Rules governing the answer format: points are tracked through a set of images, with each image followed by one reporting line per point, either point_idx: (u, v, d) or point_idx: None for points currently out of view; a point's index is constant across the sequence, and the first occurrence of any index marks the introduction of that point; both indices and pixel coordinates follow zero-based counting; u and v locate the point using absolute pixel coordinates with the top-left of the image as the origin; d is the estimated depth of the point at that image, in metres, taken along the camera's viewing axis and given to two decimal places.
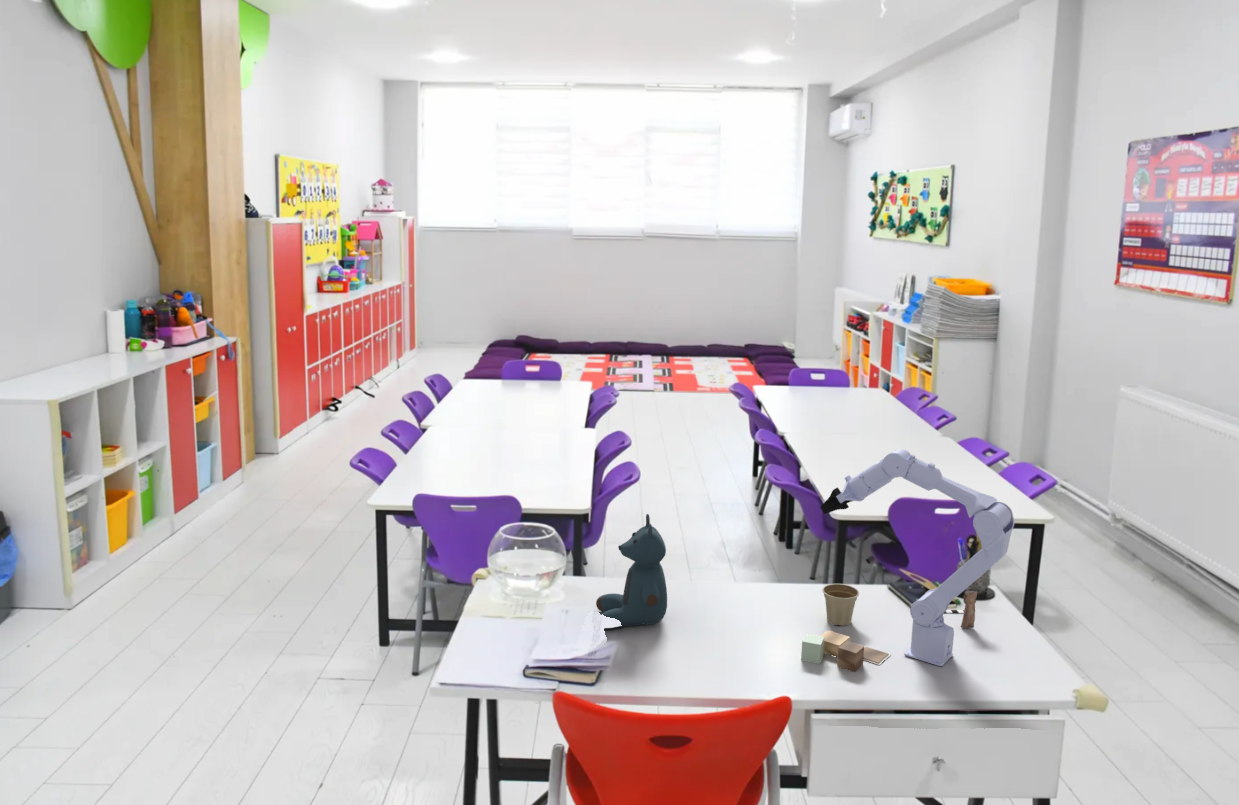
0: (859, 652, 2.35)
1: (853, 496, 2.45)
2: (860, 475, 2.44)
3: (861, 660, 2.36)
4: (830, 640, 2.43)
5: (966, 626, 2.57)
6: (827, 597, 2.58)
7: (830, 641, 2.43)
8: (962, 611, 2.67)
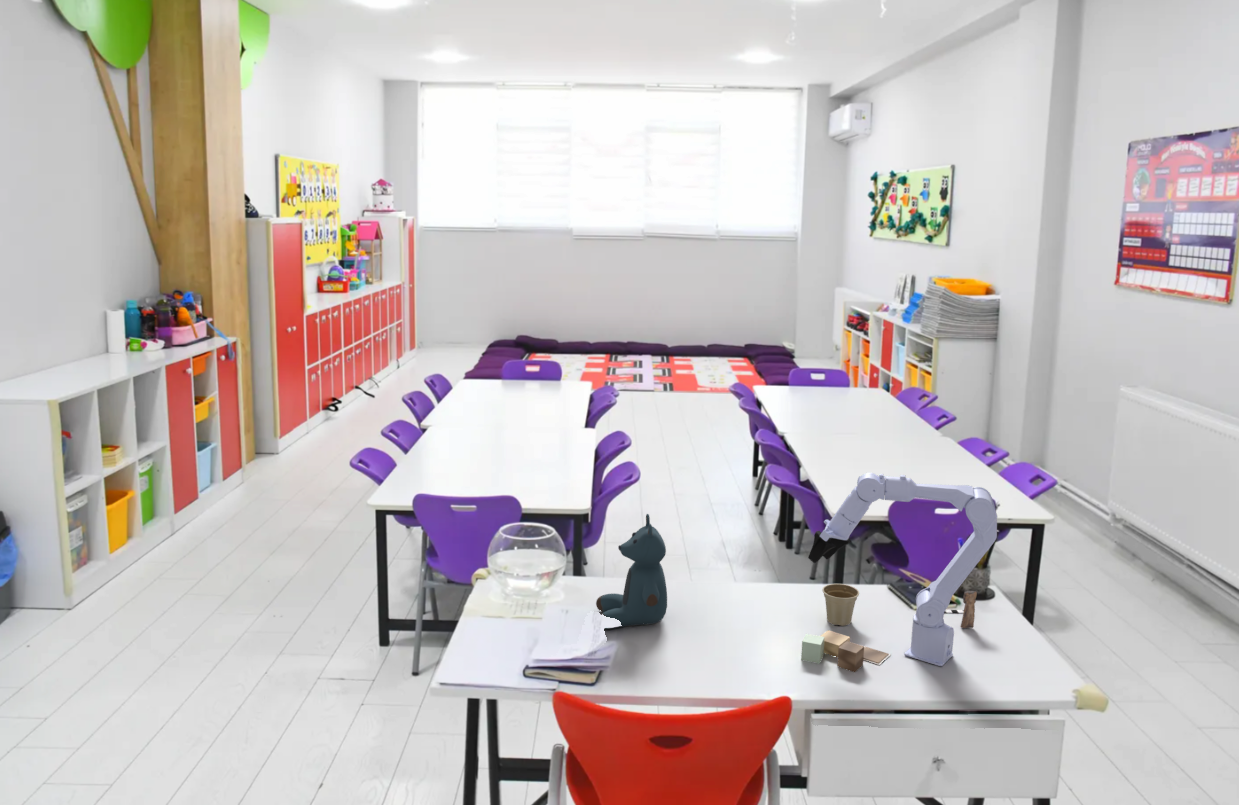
0: (859, 652, 2.35)
1: (836, 534, 2.40)
2: (837, 512, 2.41)
3: (861, 660, 2.36)
4: (830, 639, 2.43)
5: (966, 626, 2.57)
6: (827, 597, 2.58)
7: (830, 641, 2.43)
8: (962, 611, 2.67)
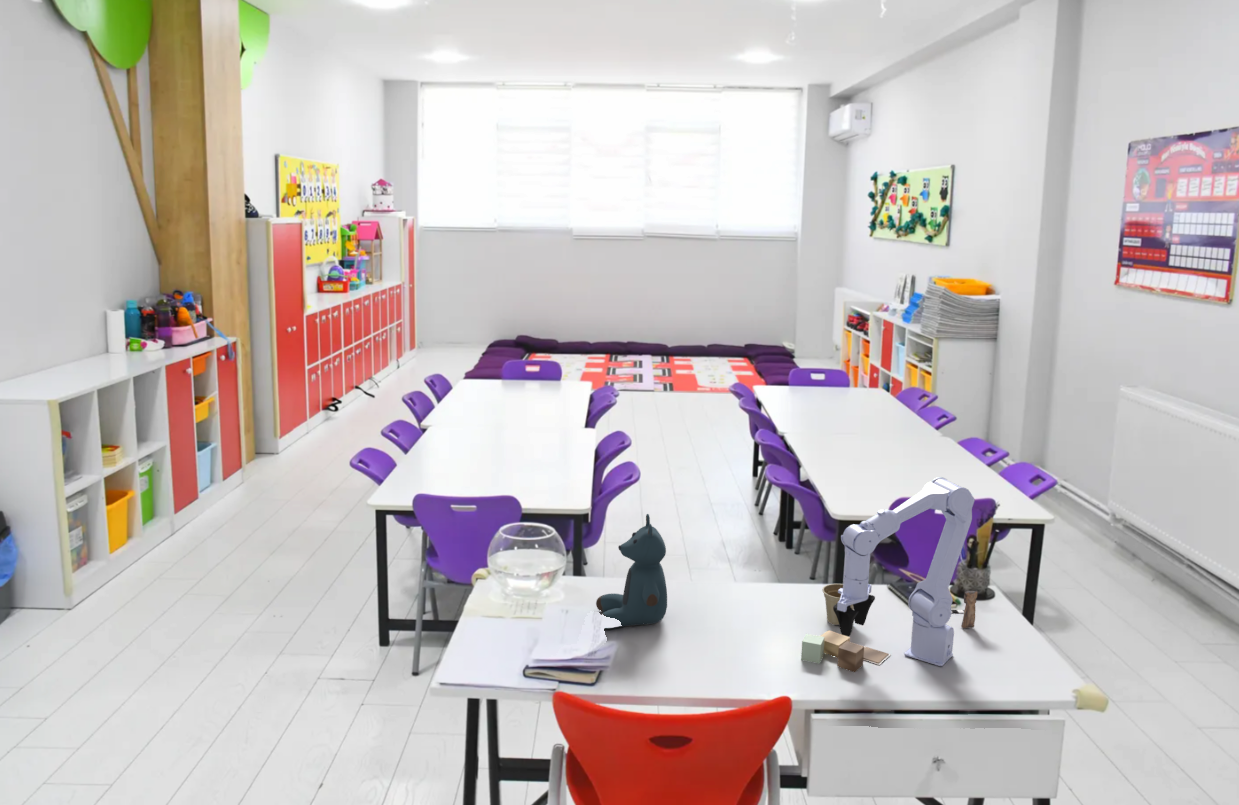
0: (859, 652, 2.35)
1: (854, 599, 2.30)
2: (844, 577, 2.32)
3: (861, 660, 2.36)
4: (830, 639, 2.43)
5: (966, 626, 2.57)
6: (827, 597, 2.58)
7: (830, 641, 2.43)
8: (962, 611, 2.67)
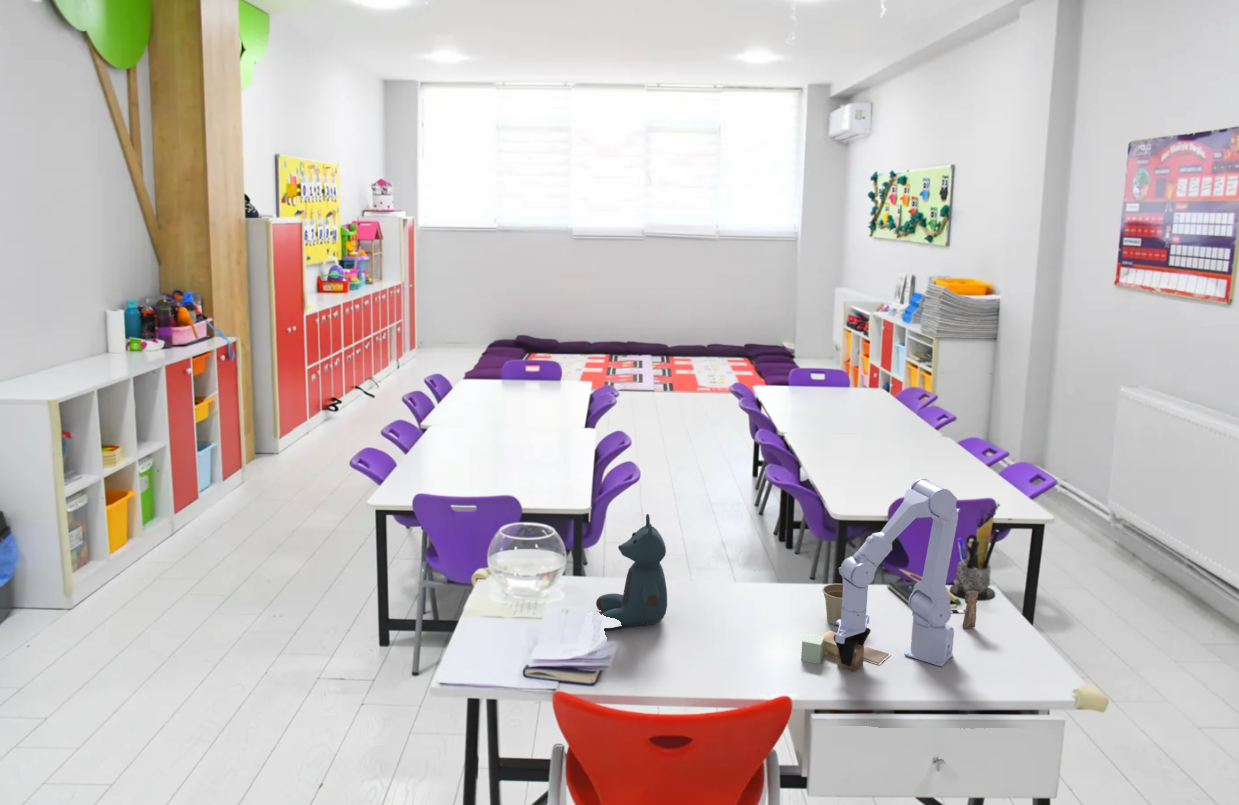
0: (859, 652, 2.35)
1: (852, 631, 2.32)
2: (842, 609, 2.34)
3: (861, 660, 2.36)
4: (830, 639, 2.43)
5: (967, 626, 2.57)
6: (827, 597, 2.58)
7: (829, 641, 2.43)
8: (962, 611, 2.68)
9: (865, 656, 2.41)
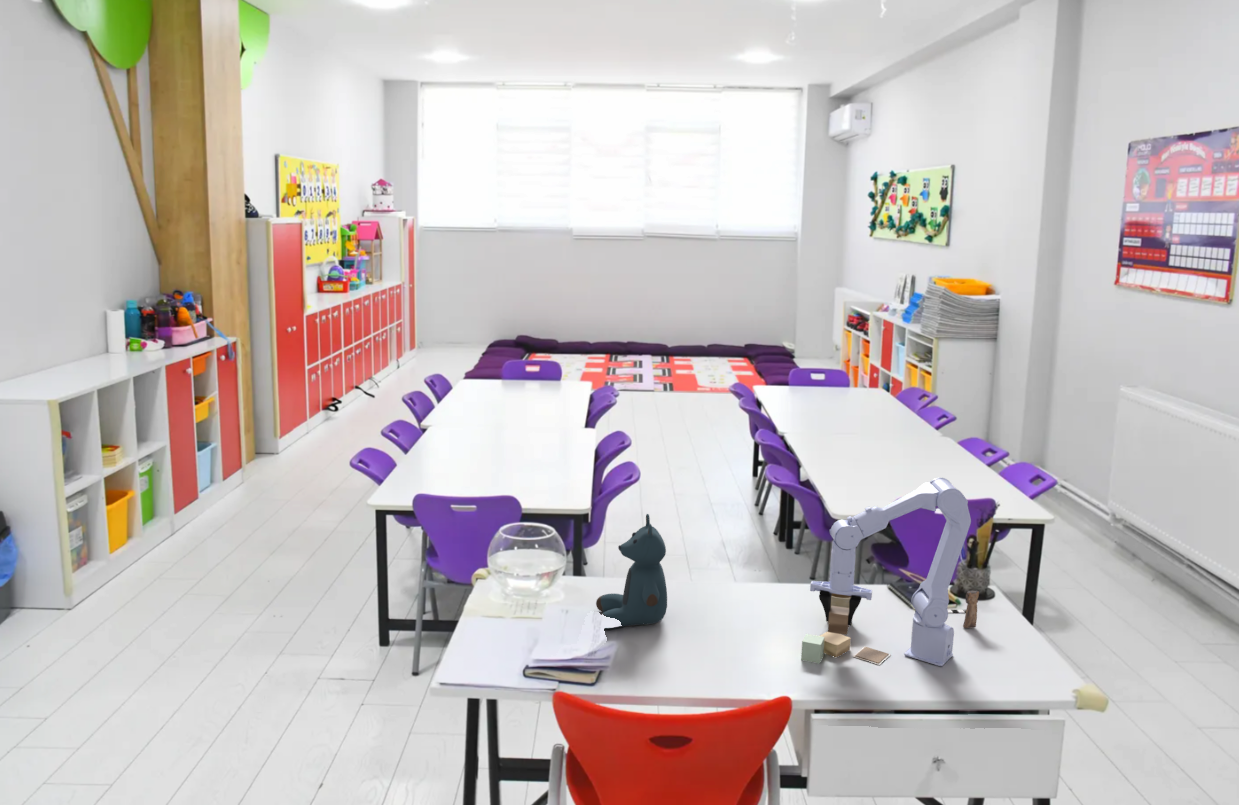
0: (836, 616, 2.39)
1: (828, 587, 2.39)
2: None
3: (842, 627, 2.39)
4: (829, 639, 2.43)
5: (968, 626, 2.57)
6: None
7: (829, 641, 2.43)
8: (962, 611, 2.68)
9: (865, 656, 2.41)
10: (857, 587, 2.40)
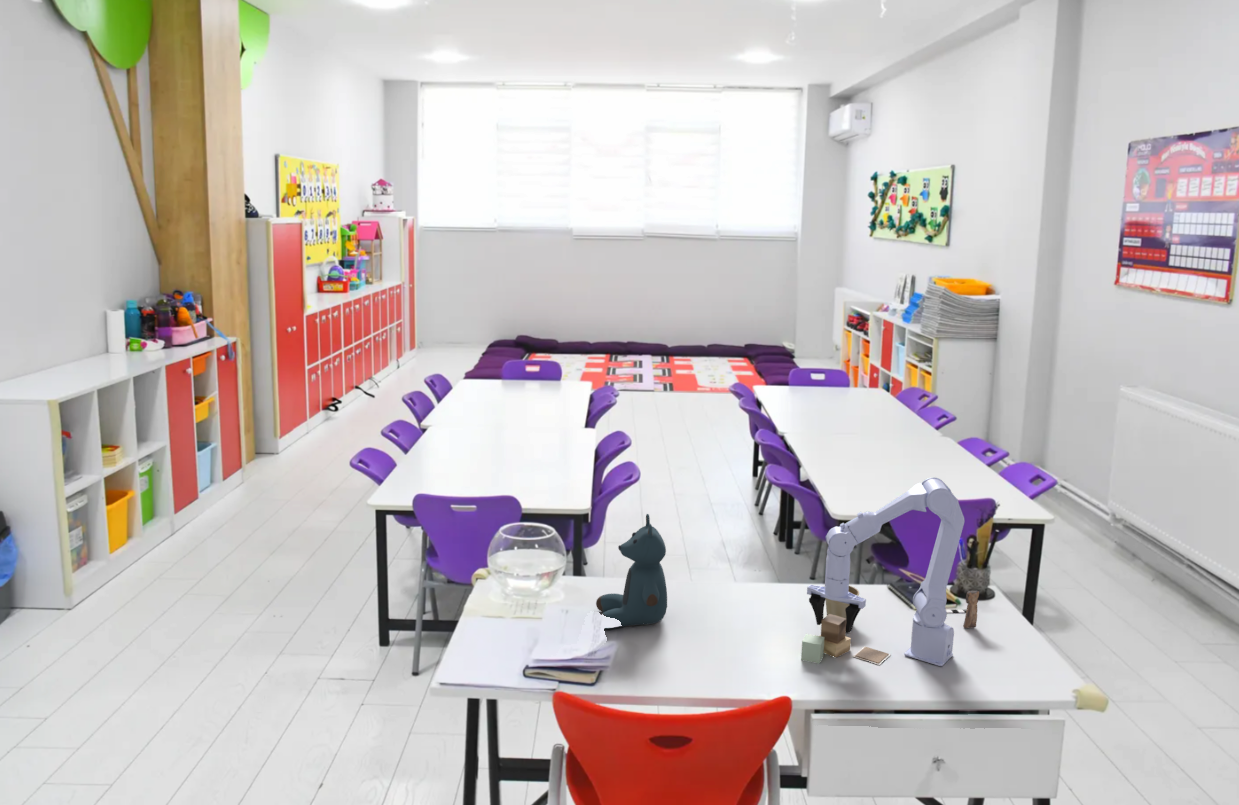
0: (828, 624, 2.42)
1: (823, 592, 2.43)
2: None
3: (833, 636, 2.42)
4: None
5: (968, 626, 2.57)
6: None
7: (829, 641, 2.43)
8: (962, 611, 2.68)
9: (865, 656, 2.41)
10: (853, 595, 2.41)
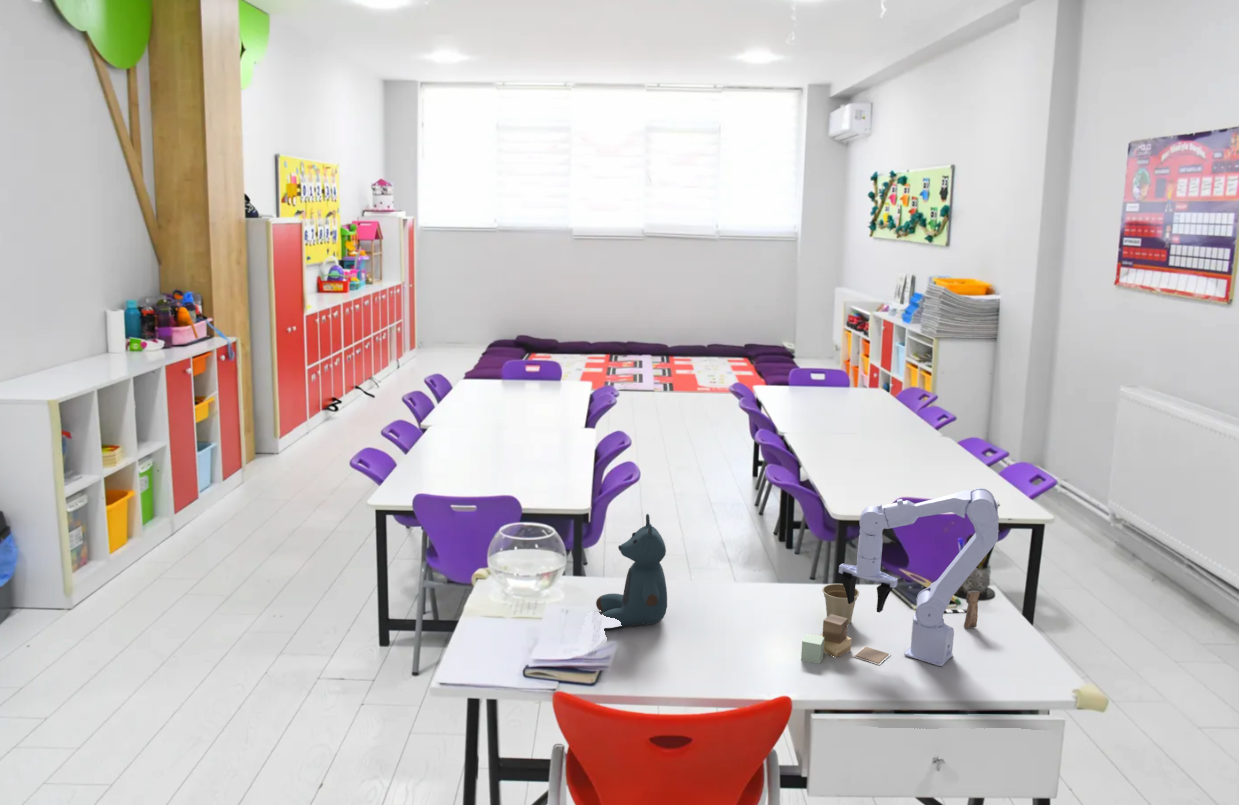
0: (830, 624, 2.42)
1: (855, 571, 2.44)
2: None
3: (835, 636, 2.41)
4: None
5: (969, 626, 2.57)
6: (827, 597, 2.58)
7: None
8: (962, 610, 2.68)
9: (865, 656, 2.41)
10: (884, 574, 2.43)
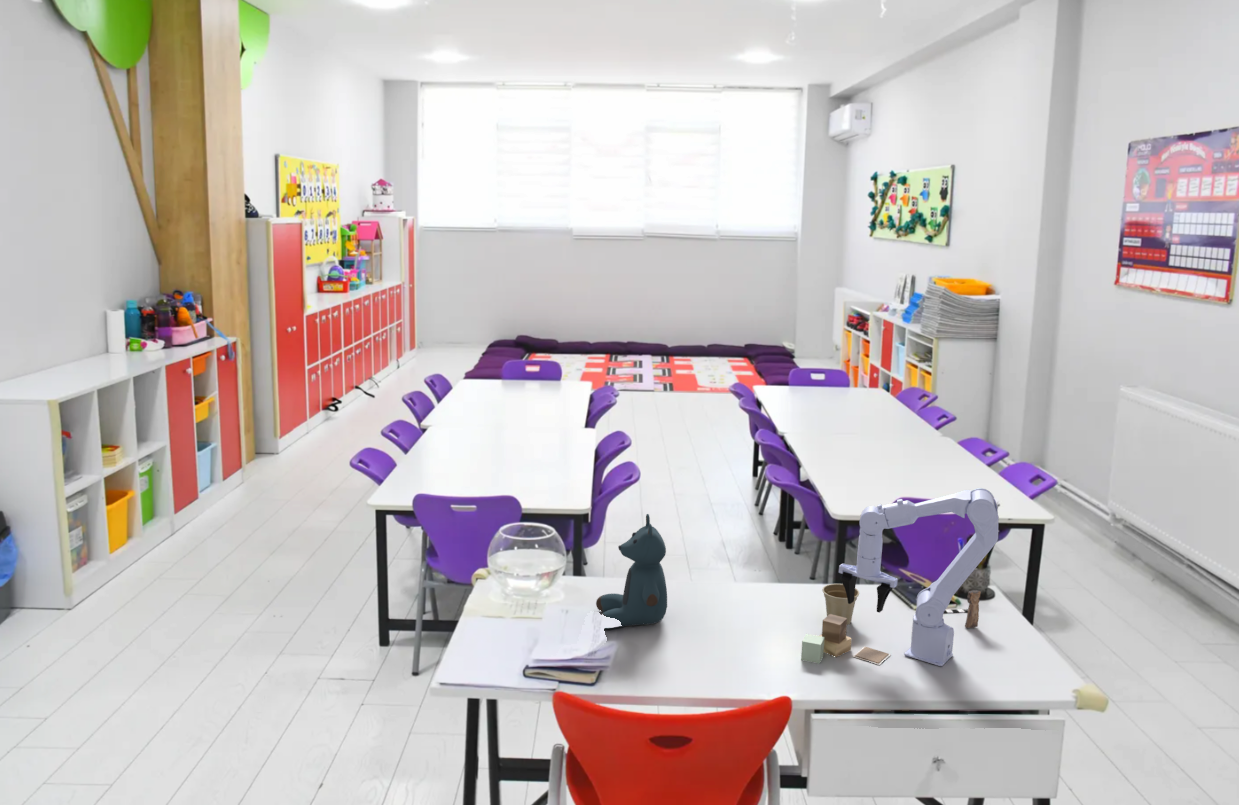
0: (829, 624, 2.42)
1: (855, 571, 2.44)
2: None
3: (835, 636, 2.42)
4: None
5: (970, 626, 2.57)
6: (827, 597, 2.58)
7: None
8: (962, 610, 2.68)
9: (865, 656, 2.41)
10: (884, 574, 2.43)
